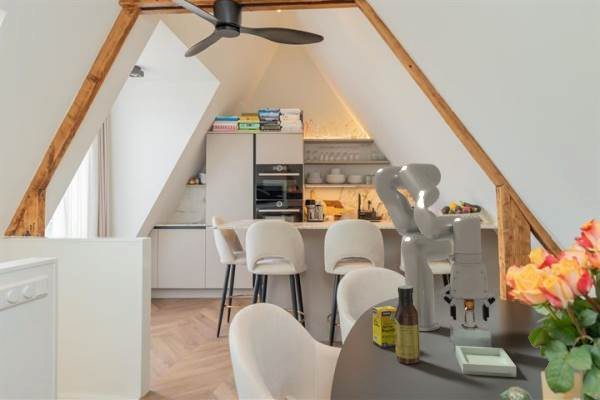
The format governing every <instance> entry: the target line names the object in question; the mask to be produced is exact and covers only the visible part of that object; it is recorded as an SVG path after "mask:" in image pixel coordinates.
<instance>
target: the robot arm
mask: <svg viewBox="0 0 600 400" xmlns="http://www.w3.org/2000/svg"><path fill="white" fill-rule="evenodd" d="M441 179H442V174H441V171H440V169H439V167H438V166H436V165H435V164H433V163H419V162H418V163H416V162H415V163H414V162H413V163H408V164H405V165H404V166H401V165H400V166H398V165H397V166H396V165H394V166H391V165H390V166H383V167H381V168H379V169H378V170H376V173H375V175H374V188H375V192H376V195H377V197H378V198H379V200H380V201H381V203H382V204H383V205H384V207H385V209H386V210H387V213H388V216H389V218H390V219H391V222H392V224H393V227H394V228H395V230H396V232H397V233H398V234H399V235H400V236H402V237H403V236H404V238H403V239H402V241H401V245H400V251H401V256H402V258H403V259H402V260H403V267H404V283H405V284H404V286H412V287H413V305H414V307H415V308H416V310H417V312H418V322H419V332H431V331H436V330H438V329H440V328H441V325H440V322H439V321H436V319H435V317H436V315H435V314H436V313H435V311H436V310H435V282H434V280H435V279H434V278H435V277H434V273H433V270H432V268H431V267H430V265H429V262H437V261H438V262H439V261H444V260H447V259H449V260H451V261H452V262H453V263H451V268H450V277H449V278H450V280H449V283H448V284H447V285H445V286H444V287H442V288H441V289H439V290H438V293H439V295H440V296H441V297H442V298H443V300H444V301H445V302H446V303H448V305H449V314H450V315H449V316H450V317H452V320H453V321H456V320H457V306H456V303H457V302H458V300H463V299H474V301H476V300H481V302H482V306H481V307H482V308H481V309H482V312H481V313H482V320H483V321H485V322H488V318H490V307H491V305H492V304H494V302H496V300H497V299H498V297H499V296H500V294H501V293H500V291H498V290H497V289H496V288H494V287H492V286H491V285H489V282H488V281H489V280H488V274H487V267H486V265H485V264H484V263H483V262H482V260H483V259H482V258H483V257H482V231H481V220H480V218H478V217H475V216H459V215H450V216H449V215H445V216H444V215H441V216H439V215H437V214H436V213H435V212H433V211H431V210H429V208H430V207H431V206H433V205H435V203H436V202H437V201H438V200H439V198H440V196H441V195H440V190H439V188H438V187H437V186H438V185H439V184H440V182H441ZM398 189H399V190H407V192H408V194H409V195H410V196H411V198H412V199H413V201H414V202H415V204H414V207H413V206H412V205H411V203H410V201H409V199H408V198H407V197H406V196H405V195H404V194H403V193H402V192H400V191H399V190H398ZM451 241H453V247H452V242H451ZM452 250H453V251H452ZM452 252H453V253H452ZM448 291H449V292H450V295H451V297H448V296H447V294H446V293H447V292H448ZM489 292H490V293H492V294H491V296H490V297H489Z"/></svg>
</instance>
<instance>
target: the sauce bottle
mask: <svg viewBox="0 0 600 400" xmlns="http://www.w3.org/2000/svg"><path fill="white" fill-rule="evenodd" d="M397 293H398V294H397V295H398V304H397V307H396V309H397V310H396V313H395V342H396V347H395V354H396V359H397V362H400V363H402V364H407V365H414V364H417V363H419V362H420V355H421V346H420V345H421V344H420V343H421V342H420V331H419V322H418V312H417V310H416V308H415V307H414V305H413V287H412V286H405V285H399V286H397Z"/></svg>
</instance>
